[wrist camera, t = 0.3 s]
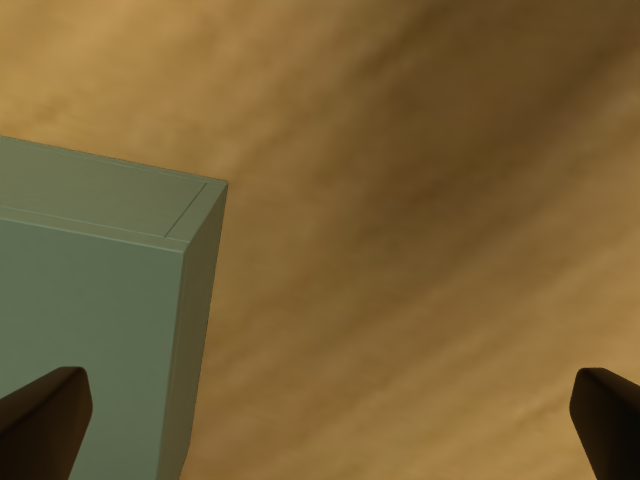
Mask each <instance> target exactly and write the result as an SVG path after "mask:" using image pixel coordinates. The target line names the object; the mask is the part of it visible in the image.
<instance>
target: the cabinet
mask: <svg viewBox="0 0 640 480" xmlns="http://www.w3.org/2000/svg"><path fill="white" fill-rule="evenodd" d="M227 188H228V181H223V180H218V179H213V178H208V177H203V176H198V175H193V174H188V173H184V172H179V171H174V170H169V169H164V168H159V167H154V166H149V165H144V164H139V163H134V162H129V161H124V160H119V159H114V158H109V157H104V156H99V155H94V154H89V153H84V152H79V151H74V150H69V149H64V148H59V147H54V146H49V145H44V144H39V143H35V142H30V141H25V140H20V139H15V138H10V137H5V136H0V399H1V398H3V397H5V396H7V395H9V394H10V393H12V392H14V391H16V390H18V389H20V388H21V387H23V386H25V385H27V384H29V383H31V382H33V381H34V380H36V379H38V378H40V377H42V376H44V375H45V374H47V373H49V372H51V371H53V370H55V369H57V368H59V367H62V366H80V367H83V368H84V369H85V370H86V372H87V375H88V380H89V385H90V391H91V396H92V401H93V412H92V417H91V420H90V422H89V425H88V428H87V430H86V433H85V436H84V439H83V441H82V444H81V447H80V449H79V452H78V455H77V457H76V460H75V463H74V465H73V468H72V471H71V474H70V476H69V479H68V480H179V477H180V474H181V470H182V467H183V464H184V461H185V458H186V455H187V451H188V448H189V443H190V437H191V430H192V423H193V416H194V410H195V403H196V396H197V390H198V383H199V376H200V369H201V363H202V356H203V349H204V342H205V336H206V329H207V322H208V316H209V309H210V302H211V295H212V289H213V282H214V275H215V268H216V262H217V255H218V248H219V242H220V235H221V228H222V221H223V215H224V208H225V201H226V194H227Z"/></svg>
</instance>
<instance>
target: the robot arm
mask: <svg viewBox="0 0 640 480" xmlns="http://www.w3.org/2000/svg"><path fill="white" fill-rule="evenodd" d="M569 410H570V415H571V419H572V421H573V424H574V426H575V428H576V431H577V433H578V436H579V438H580V440H581V443H582V445H583V448H584V450H585V452H586V455H587V457H588V459H589V462H590V464H591V467H592V469H593V471H594V474H595V476H596V479H597V480H640V386H639V385H637V384H635V383H633V382H631V381H629V380H627V379H625V378H623V377H621V376H619V375H617V374H615V373H613V372H611V371H609V370H607V369H605V368H582V369H580V370H579V371H578V372H577V375H576V378H575V383H574V387H573V391H572V396H571V400H570V405H569ZM92 412H93V401H92V396H91V391H90V385H89V380H88V375H87V372H86V370H85V369H84V368H83V367H80V366H62V367H59V368H57V369H55V370H53V371H51V372H49V373H47V374H45V375H44V376H42V377H40V378H38V379H36V380H34V381H33V382H31V383H29V384H27V385H25V386H23V387H21V388H20V389H18V390H16V391H14V392H12V393H10V394H9V395H7V396H5V397H3V398H1V399H0V480H68V479H69V476H70V474H71V471H72V468H73V465H74V463H75V460H76V457H77V455H78V452H79V449H80V447H81V444H82V441H83V439H84V436H85V433H86V430H87V428H88V425H89V422H90V420H91V417H92Z"/></svg>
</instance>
